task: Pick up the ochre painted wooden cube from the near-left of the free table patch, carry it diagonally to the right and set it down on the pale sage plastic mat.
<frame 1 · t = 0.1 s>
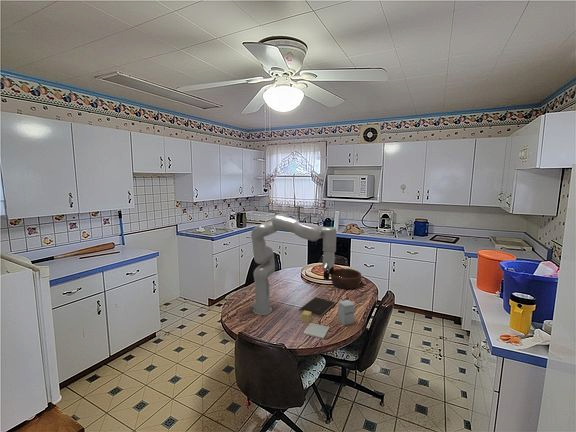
hand: (328, 276, 170), 31 cm above the table, fingers open, 9 cm apart
hardcover book: (317, 308, 197), on the table
ochre cube: (306, 320, 180), on the table
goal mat: (316, 331, 167), on the table
wooden bowl: (345, 285, 239), on the table
supplement box: (345, 322, 179), on the table
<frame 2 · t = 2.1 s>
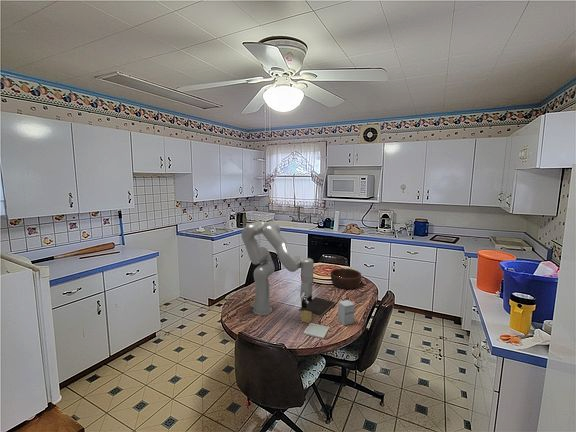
hand: (306, 304, 179), 10 cm above the table, fingers open, 9 cm apart
nothing on the table moved.
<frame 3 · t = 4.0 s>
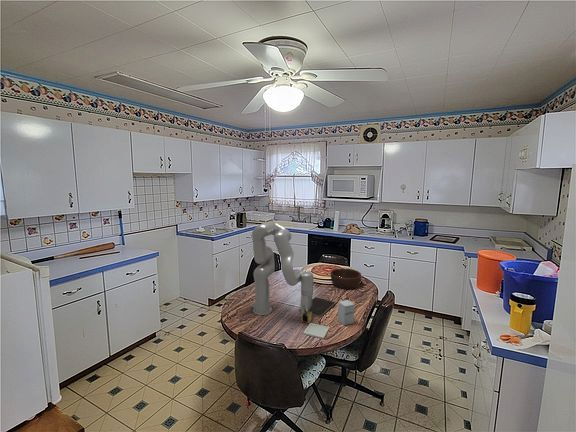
hand: (306, 319, 180), 1 cm above the table, fingers closed on ochre cube, 5 cm apart
ochre cube: (306, 320, 180), on the table, touching gripper
everything else where it was.
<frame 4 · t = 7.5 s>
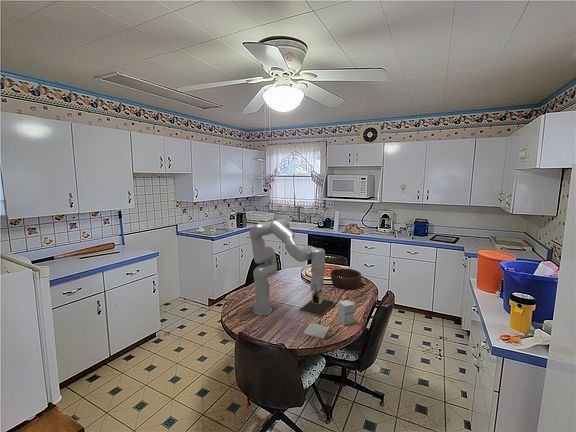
hand: (317, 300, 165), 19 cm above the table, fingers closed on ochre cube, 5 cm apart
ochre cube: (317, 301, 165), point 18 cm above the table, touching gripper
everything else where it was.
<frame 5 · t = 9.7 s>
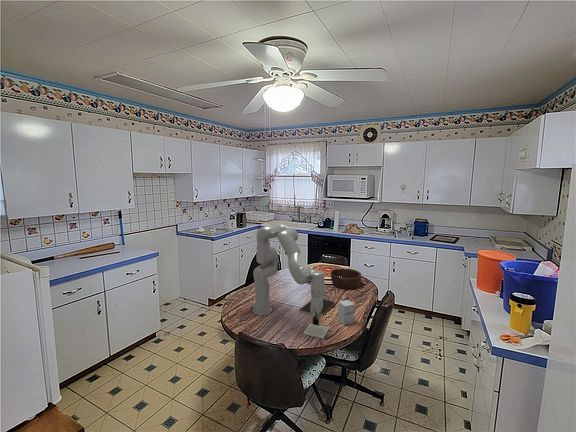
hand: (317, 322, 166), 6 cm above the table, fingers closed on ochre cube, 5 cm apart
ochre cube: (317, 323, 167), point 5 cm above the table, touching gripper
everything else where it was.
when the fingers open (3 cm above the table, at t = 11.3 s): ochre cube drops 1 cm, resting on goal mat.
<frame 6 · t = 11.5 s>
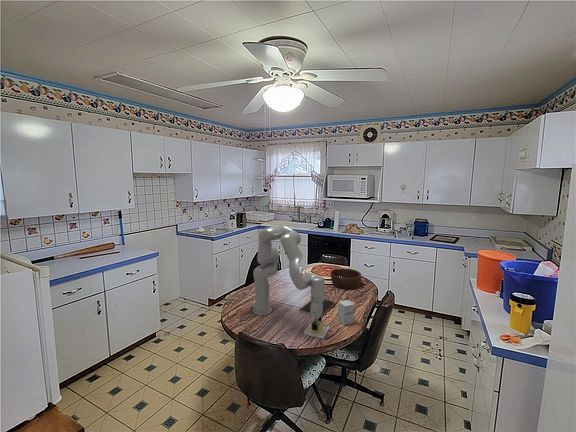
hand: (316, 326, 167), 3 cm above the table, fingers open, 7 cm apart
ochre cube: (316, 330, 167), point 1 cm above the table, touching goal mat
everything else where it was.
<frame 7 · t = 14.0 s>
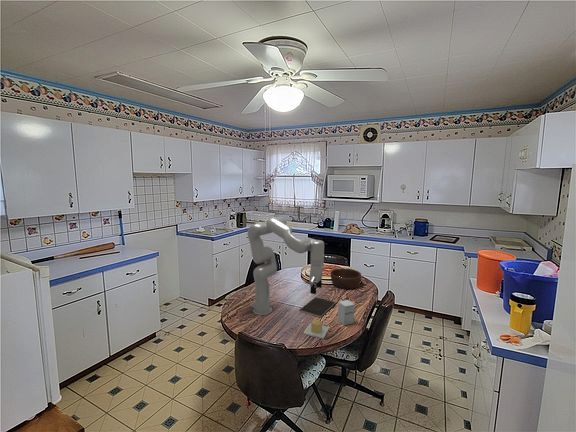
hand: (316, 290, 165), 25 cm above the table, fingers open, 9 cm apart
nothing on the table moved.
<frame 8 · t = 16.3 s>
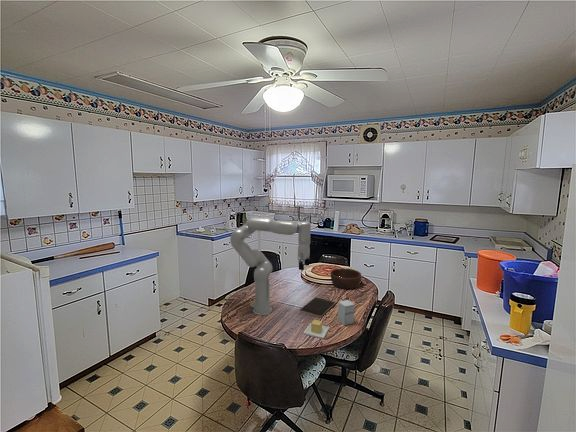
hand: (304, 267, 182), 32 cm above the table, fingers open, 9 cm apart
nothing on the table moved.
at the end: ochre cube inside the target area on the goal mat (0.0 cm from its centre), point 0.6 cm above the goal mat's base; ochre cube tilted 0°; the gripper is holding nothing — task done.
